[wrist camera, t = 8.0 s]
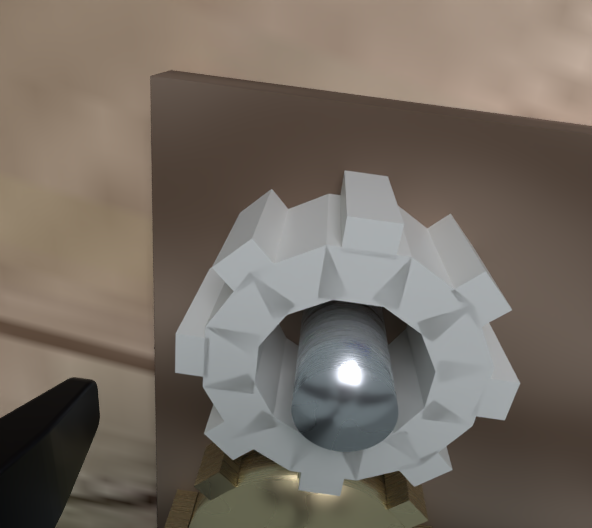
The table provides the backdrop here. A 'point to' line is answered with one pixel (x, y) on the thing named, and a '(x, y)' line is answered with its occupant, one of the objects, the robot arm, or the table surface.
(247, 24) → the table surface
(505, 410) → the pale gear
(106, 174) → the table surface
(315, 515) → the brass gear
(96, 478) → the table surface
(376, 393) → the peg
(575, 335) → the gear board
